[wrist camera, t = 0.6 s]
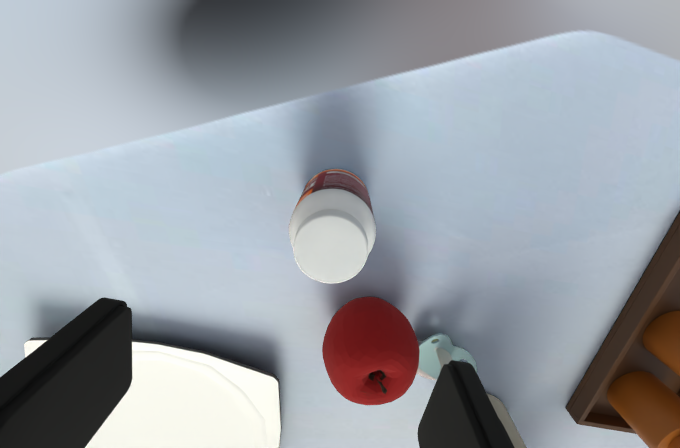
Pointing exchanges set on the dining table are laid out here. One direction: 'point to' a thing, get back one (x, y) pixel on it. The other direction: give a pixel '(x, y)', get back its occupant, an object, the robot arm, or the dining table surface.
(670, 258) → the tray
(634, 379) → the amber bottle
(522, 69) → the dining table surface
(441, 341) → the pacifier
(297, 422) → the dining table surface
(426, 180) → the dining table surface
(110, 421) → the plate
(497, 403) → the travel mug
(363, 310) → the apple
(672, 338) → the amber bottle middle
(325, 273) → the pill bottle
